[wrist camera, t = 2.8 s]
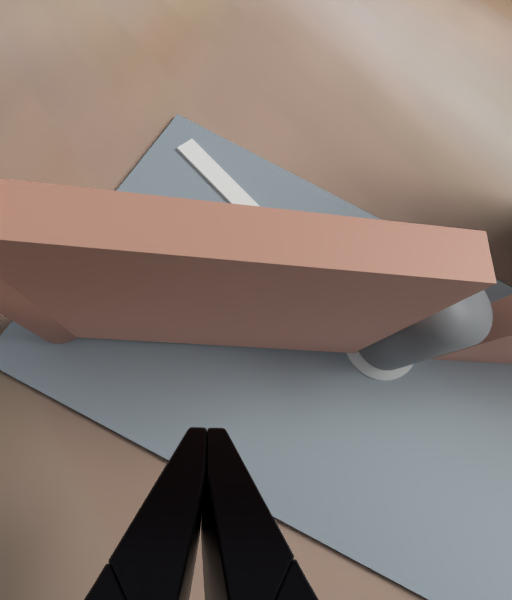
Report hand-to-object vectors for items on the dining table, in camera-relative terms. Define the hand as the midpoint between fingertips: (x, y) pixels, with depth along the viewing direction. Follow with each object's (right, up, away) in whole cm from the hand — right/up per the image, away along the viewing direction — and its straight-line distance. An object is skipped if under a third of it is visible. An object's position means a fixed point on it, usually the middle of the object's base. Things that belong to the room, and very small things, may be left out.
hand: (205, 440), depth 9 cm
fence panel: (0, +2, +8) cm, 8 cm away
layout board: (+5, +1, +9) cm, 10 cm away
